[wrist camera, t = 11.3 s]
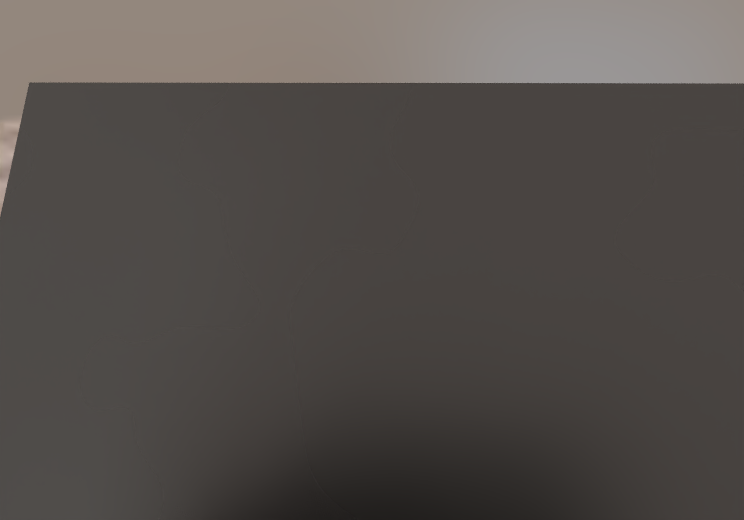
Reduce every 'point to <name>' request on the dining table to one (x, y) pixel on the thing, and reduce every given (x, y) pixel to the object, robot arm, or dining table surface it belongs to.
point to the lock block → (374, 302)
